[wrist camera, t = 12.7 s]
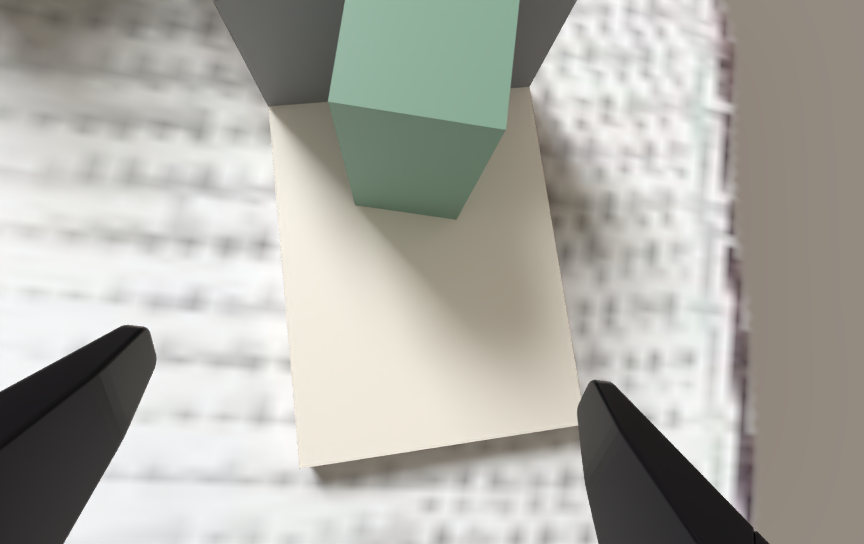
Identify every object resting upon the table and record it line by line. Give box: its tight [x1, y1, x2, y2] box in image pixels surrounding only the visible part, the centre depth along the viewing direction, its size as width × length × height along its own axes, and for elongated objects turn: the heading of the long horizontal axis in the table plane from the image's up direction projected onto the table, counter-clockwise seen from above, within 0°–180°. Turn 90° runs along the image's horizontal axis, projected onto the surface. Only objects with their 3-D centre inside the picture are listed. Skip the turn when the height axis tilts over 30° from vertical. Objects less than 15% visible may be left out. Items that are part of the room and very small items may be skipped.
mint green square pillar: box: [328, 0, 520, 220], centre depth 16 cm, size 4×4×9 cm
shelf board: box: [213, 0, 581, 469], centre depth 17 cm, size 17×12×10 cm
